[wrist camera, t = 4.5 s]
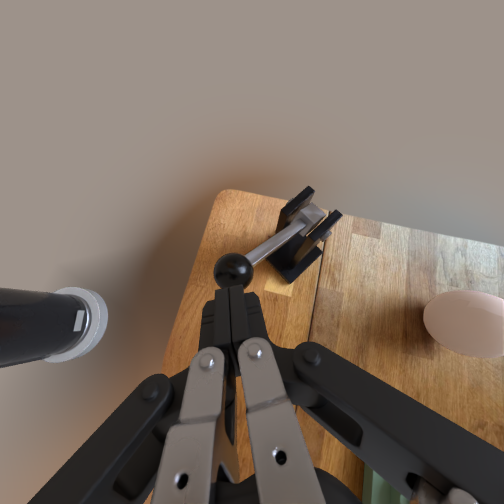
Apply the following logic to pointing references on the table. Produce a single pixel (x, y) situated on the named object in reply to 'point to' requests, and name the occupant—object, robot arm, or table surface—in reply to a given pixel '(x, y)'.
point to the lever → (263, 250)
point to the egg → (467, 322)
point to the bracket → (299, 239)
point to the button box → (379, 490)
